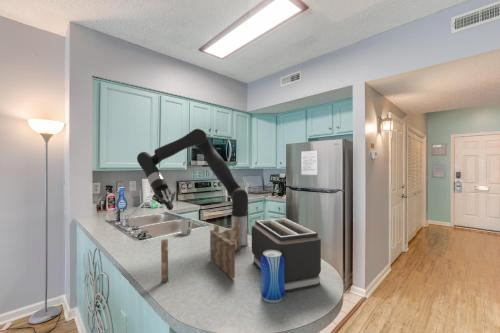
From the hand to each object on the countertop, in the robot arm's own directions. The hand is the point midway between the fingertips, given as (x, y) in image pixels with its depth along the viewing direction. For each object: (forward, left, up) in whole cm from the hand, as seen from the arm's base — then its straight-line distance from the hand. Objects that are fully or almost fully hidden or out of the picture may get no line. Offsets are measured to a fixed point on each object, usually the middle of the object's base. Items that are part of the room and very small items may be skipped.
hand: (171, 209), depth 117 cm
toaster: (-52, +17, -26) cm, 60 cm away
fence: (-17, +5, -26) cm, 32 cm away
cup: (0, -46, -26) cm, 53 cm away
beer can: (-43, +37, -26) cm, 63 cm away
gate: (-25, +12, -25) cm, 37 cm away
